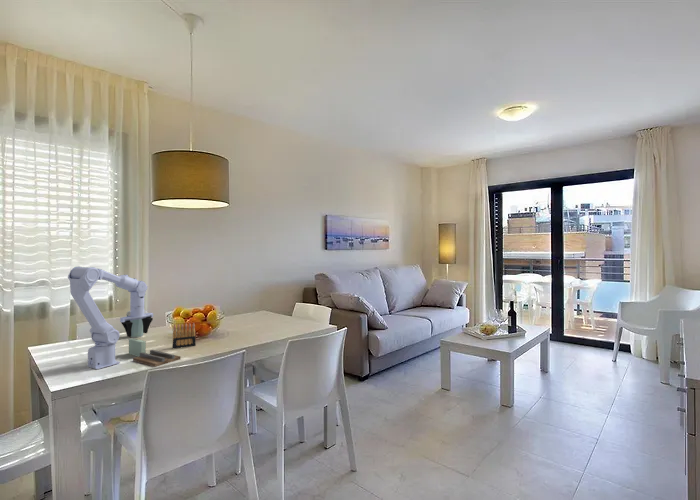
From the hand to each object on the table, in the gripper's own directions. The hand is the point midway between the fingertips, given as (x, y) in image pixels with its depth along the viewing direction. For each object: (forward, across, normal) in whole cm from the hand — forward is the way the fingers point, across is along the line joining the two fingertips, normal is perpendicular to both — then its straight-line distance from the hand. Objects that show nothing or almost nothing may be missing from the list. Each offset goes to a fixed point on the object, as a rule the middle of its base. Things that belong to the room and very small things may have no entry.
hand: (137, 334), depth 171 cm
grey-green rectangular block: (+10, 0, 0) cm, 10 cm away
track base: (+9, 0, +15) cm, 18 cm away
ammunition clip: (+10, -20, +7) cm, 23 cm away
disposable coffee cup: (+10, -20, -33) cm, 40 cm away
